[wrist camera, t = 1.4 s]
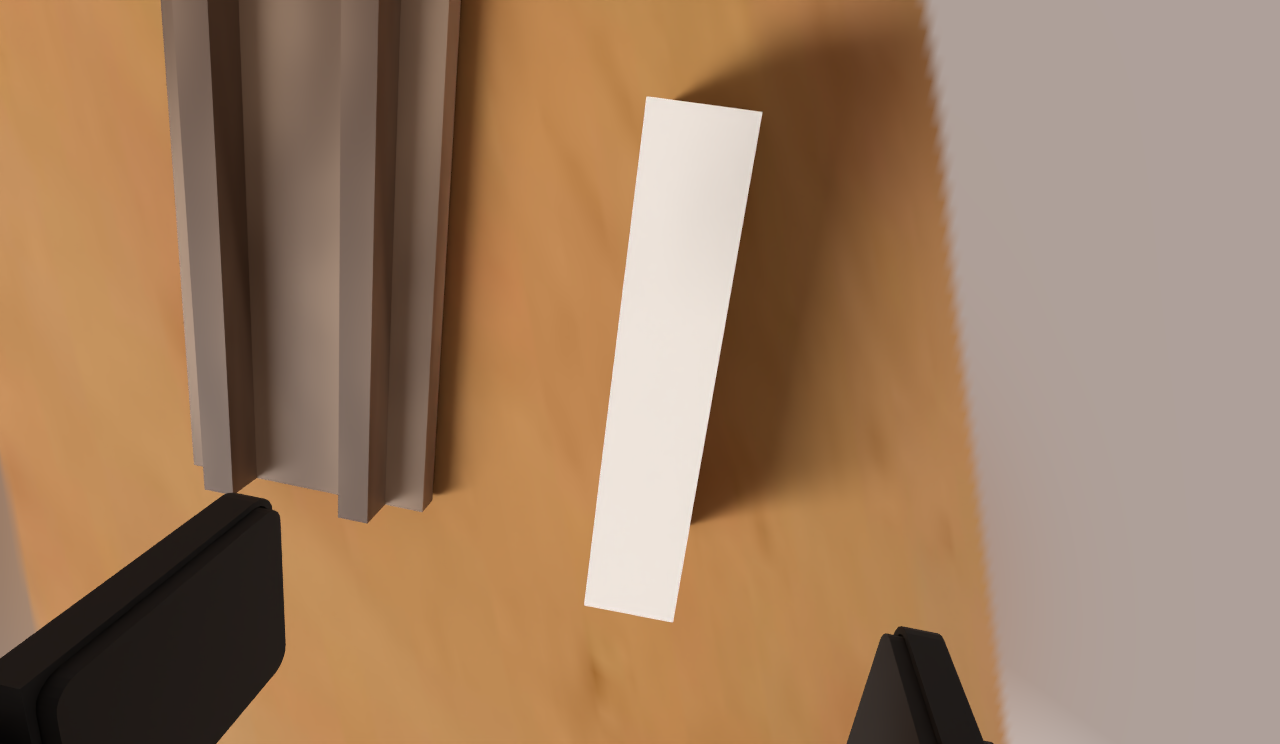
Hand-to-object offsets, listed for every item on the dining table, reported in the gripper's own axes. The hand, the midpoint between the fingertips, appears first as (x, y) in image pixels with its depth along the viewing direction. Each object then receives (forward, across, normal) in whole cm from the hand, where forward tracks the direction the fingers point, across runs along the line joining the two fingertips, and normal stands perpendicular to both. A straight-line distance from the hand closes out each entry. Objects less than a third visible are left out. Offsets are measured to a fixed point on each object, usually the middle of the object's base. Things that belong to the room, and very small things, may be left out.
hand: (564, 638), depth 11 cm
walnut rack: (+17, +14, -2) cm, 22 cm away
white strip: (+17, 0, 0) cm, 17 cm away
